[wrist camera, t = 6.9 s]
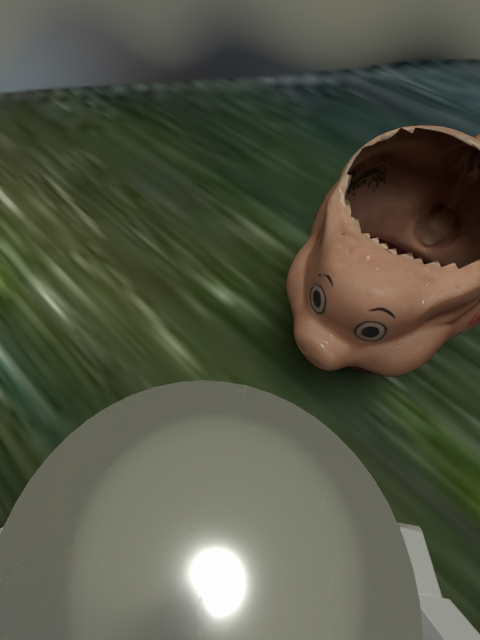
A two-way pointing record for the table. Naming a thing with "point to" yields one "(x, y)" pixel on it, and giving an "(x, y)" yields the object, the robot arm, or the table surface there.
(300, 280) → the decorative planter
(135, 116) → the table surface
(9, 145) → the table surface
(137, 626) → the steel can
